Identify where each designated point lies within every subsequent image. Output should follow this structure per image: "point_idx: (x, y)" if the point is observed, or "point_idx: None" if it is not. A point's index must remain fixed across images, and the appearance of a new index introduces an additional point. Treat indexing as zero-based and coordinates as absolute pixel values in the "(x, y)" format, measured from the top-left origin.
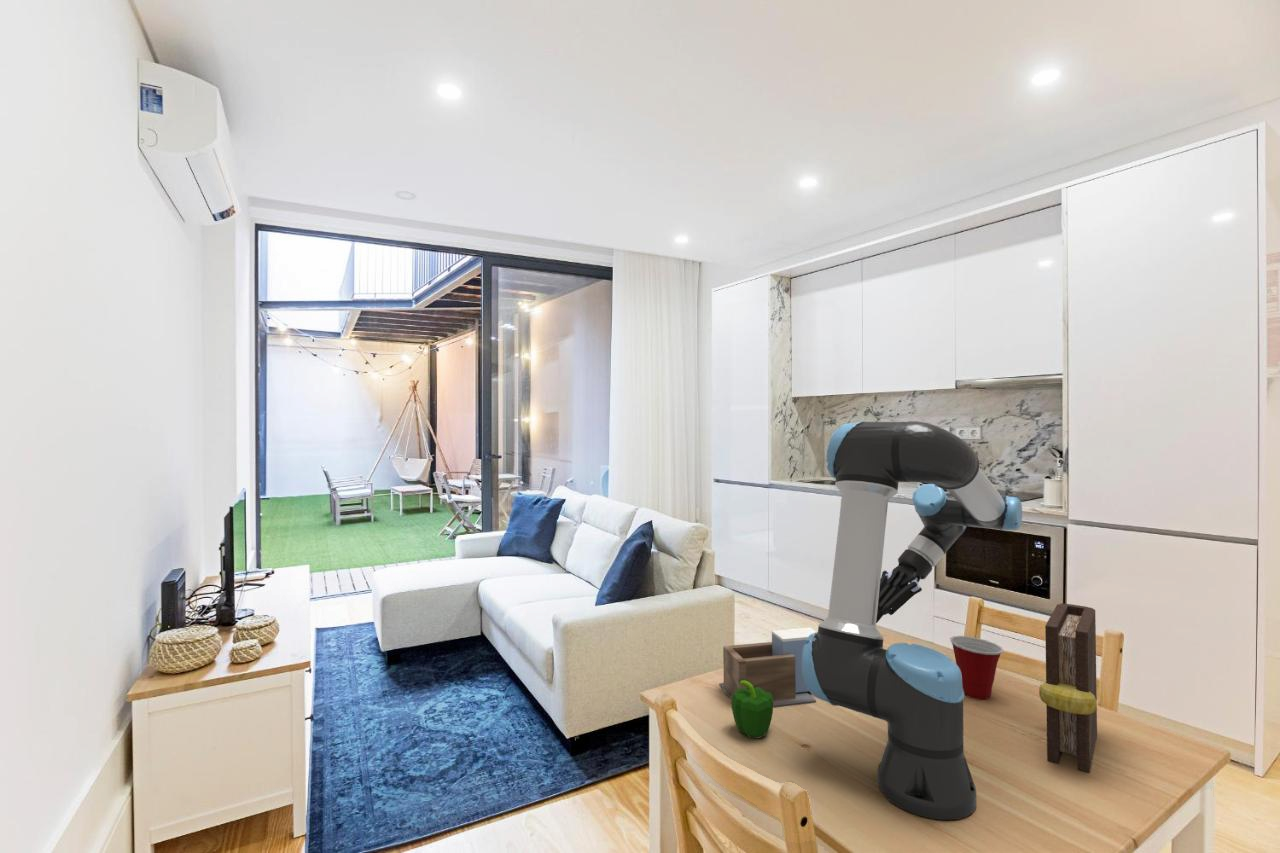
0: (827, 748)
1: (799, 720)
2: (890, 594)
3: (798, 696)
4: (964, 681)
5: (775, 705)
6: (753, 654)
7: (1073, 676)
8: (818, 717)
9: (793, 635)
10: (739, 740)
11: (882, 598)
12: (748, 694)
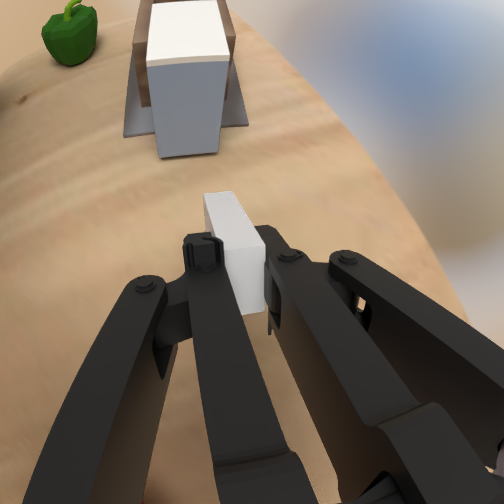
0: (5, 121)
1: (77, 102)
2: (202, 368)
3: (149, 113)
4: None
5: (128, 79)
6: None
7: None
8: (74, 127)
9: (170, 17)
10: None
11: (295, 328)
12: (74, 15)
